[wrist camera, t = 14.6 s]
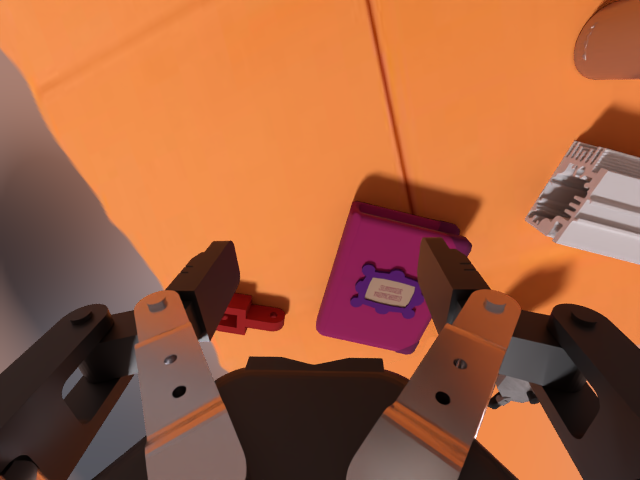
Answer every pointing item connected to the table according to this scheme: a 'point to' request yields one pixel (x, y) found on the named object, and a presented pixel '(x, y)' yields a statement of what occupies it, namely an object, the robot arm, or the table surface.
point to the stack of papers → (592, 203)
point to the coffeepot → (512, 392)
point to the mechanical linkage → (249, 316)
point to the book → (381, 278)
